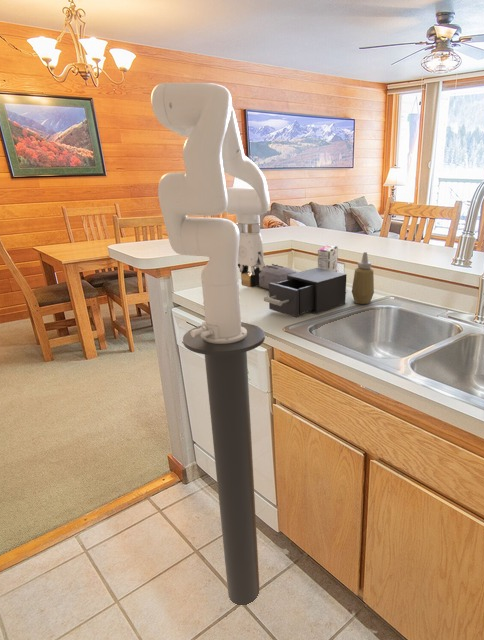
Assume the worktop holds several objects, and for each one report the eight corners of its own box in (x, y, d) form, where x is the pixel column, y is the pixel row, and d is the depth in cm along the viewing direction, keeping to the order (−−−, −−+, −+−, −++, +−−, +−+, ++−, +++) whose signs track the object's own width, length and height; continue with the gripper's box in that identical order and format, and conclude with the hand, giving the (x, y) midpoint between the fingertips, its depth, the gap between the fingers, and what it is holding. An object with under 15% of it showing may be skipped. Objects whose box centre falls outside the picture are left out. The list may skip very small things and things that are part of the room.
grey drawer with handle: (285, 321, 136) (285, 293, 133) (258, 312, 144) (257, 285, 140) (325, 307, 150) (326, 281, 146) (298, 299, 157) (298, 275, 154)
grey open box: (316, 314, 146) (317, 282, 142) (287, 305, 154) (286, 275, 150) (345, 303, 157) (346, 274, 153) (316, 296, 165) (316, 267, 161)
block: (249, 287, 145) (249, 275, 143) (242, 285, 147) (241, 273, 146) (258, 285, 148) (258, 273, 146) (251, 283, 150) (250, 271, 148)
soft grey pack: (246, 285, 177) (282, 295, 165) (245, 264, 173) (281, 273, 162) (273, 278, 187) (308, 287, 176) (272, 259, 184) (308, 266, 172)
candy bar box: (325, 285, 180) (326, 244, 173) (337, 286, 178) (338, 245, 171) (316, 292, 170) (317, 249, 163) (328, 293, 169) (330, 250, 162)
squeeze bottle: (376, 301, 161) (380, 251, 153) (367, 306, 155) (371, 255, 147) (357, 297, 165) (359, 249, 157) (347, 302, 158) (349, 252, 151)
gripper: (222, 227, 142) (225, 282, 150) (257, 232, 133) (258, 291, 140) (240, 225, 148) (242, 279, 155) (274, 230, 138) (275, 287, 145)
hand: (250, 284), depth 147 cm, fingers closed on block, 4 cm apart
